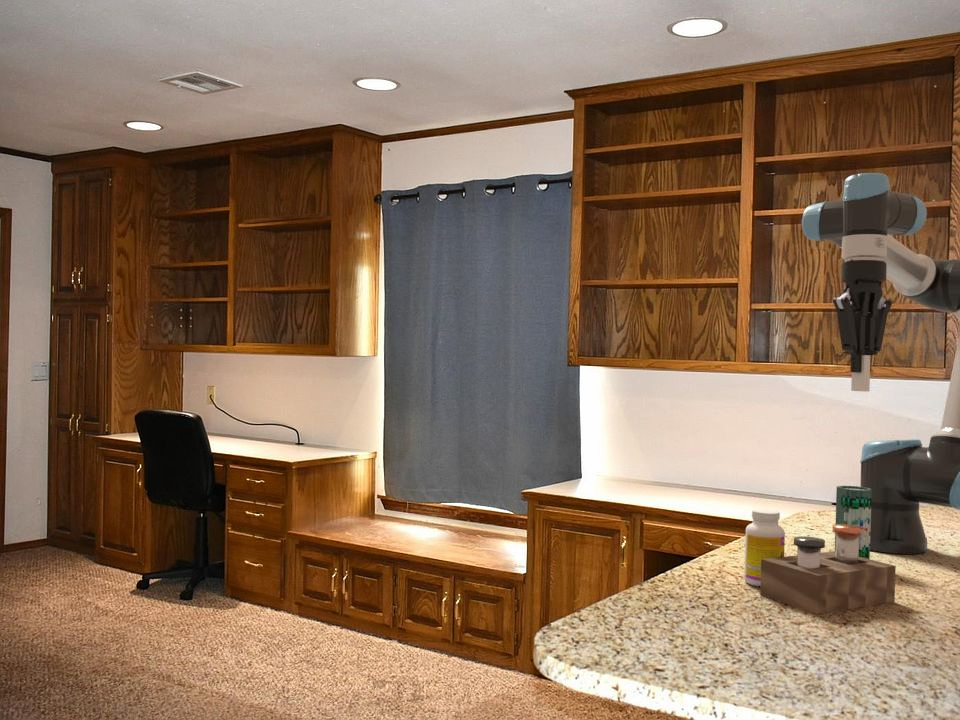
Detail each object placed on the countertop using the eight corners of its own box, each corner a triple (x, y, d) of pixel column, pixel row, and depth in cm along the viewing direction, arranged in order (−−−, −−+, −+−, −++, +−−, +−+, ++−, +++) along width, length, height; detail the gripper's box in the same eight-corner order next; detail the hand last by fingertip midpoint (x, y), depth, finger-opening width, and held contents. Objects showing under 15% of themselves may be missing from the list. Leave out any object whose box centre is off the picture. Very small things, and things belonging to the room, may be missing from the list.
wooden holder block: (835, 584, 160) (836, 550, 160) (894, 602, 149) (895, 565, 149) (760, 594, 152) (761, 559, 152) (817, 614, 141) (818, 575, 141)
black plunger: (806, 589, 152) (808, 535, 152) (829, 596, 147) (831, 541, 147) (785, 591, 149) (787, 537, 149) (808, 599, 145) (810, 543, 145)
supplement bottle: (785, 589, 156) (788, 515, 155) (745, 586, 157) (748, 513, 157) (780, 580, 162) (782, 509, 162) (742, 577, 163) (744, 506, 163)
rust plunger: (844, 575, 156) (846, 523, 156) (867, 581, 152) (869, 528, 152) (824, 577, 154) (826, 525, 154) (848, 584, 149) (849, 530, 149)
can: (852, 569, 172) (854, 490, 172) (828, 562, 178) (830, 486, 178) (875, 567, 175) (878, 489, 175) (851, 560, 180) (853, 485, 180)
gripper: (856, 256, 157) (852, 392, 157) (906, 261, 163) (902, 392, 163) (821, 259, 163) (818, 390, 164) (871, 264, 170) (867, 390, 170)
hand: (860, 390), depth 163 cm, fingers closed
